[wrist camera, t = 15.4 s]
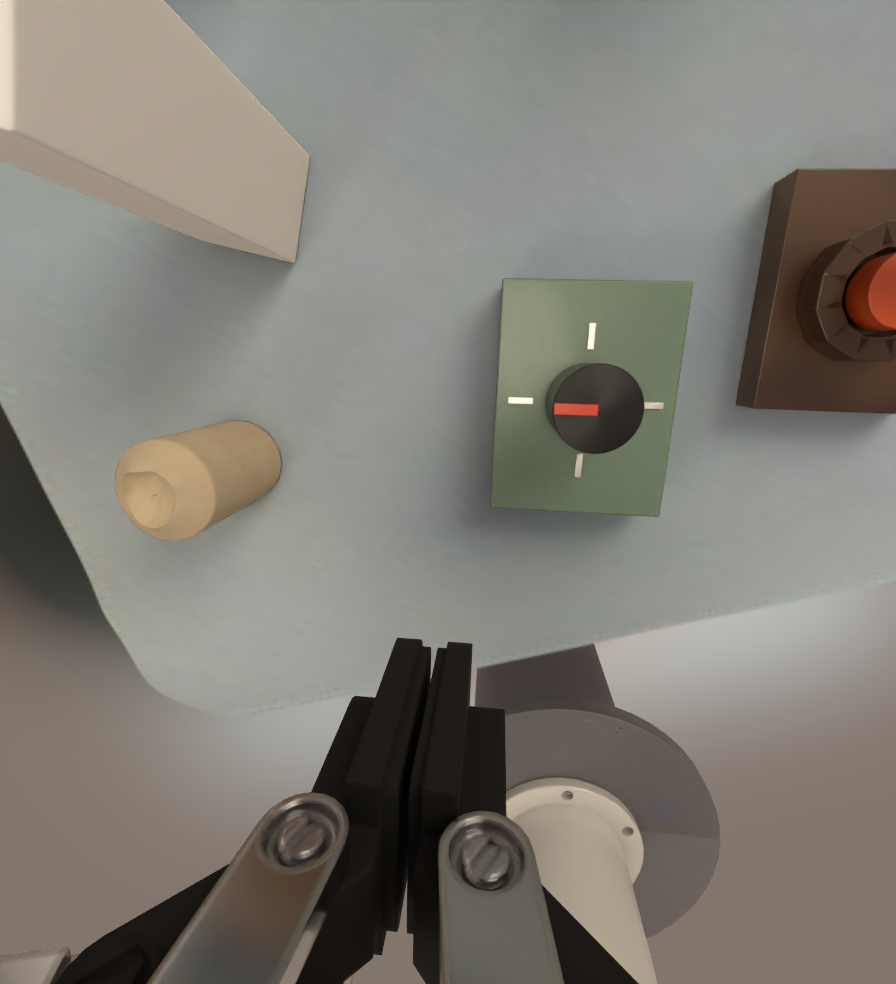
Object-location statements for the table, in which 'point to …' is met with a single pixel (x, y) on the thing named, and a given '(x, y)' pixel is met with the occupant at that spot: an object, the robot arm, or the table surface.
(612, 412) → the dial
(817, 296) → the switch block
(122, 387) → the table surface
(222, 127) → the milk
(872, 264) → the button
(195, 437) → the candle
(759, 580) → the table surface
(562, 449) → the dial panel
